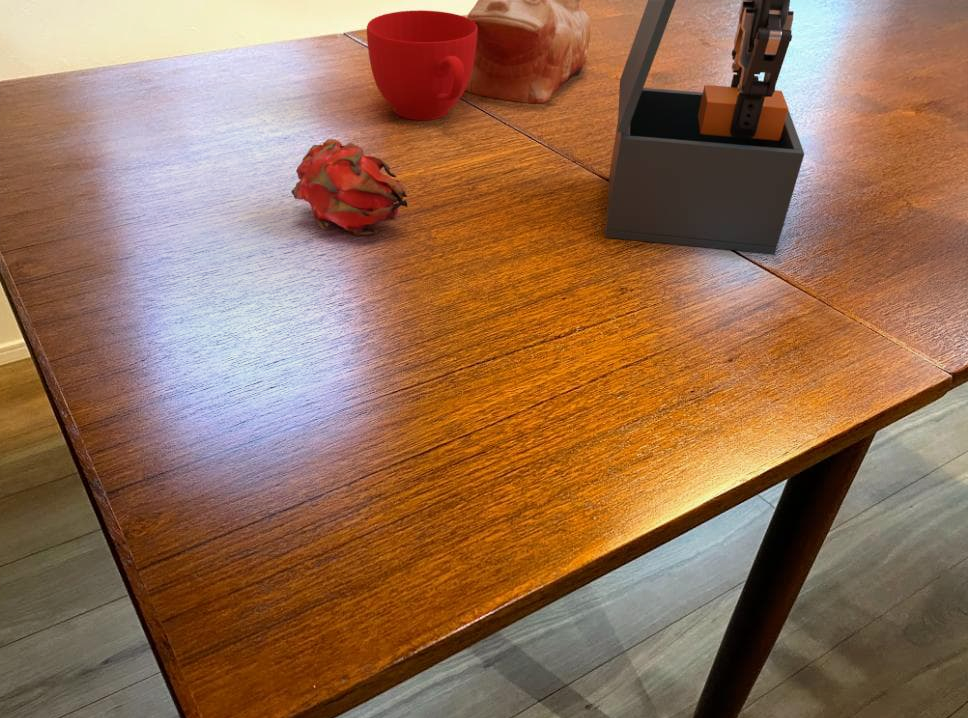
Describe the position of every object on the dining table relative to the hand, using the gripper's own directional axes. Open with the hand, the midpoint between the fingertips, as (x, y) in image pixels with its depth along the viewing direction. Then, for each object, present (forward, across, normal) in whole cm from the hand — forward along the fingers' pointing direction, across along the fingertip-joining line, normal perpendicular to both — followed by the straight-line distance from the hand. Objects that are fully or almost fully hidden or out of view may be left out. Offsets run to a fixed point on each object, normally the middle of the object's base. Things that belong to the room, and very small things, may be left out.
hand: (739, 124), depth 82 cm
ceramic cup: (+10, +20, +33) cm, 40 cm away
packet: (0, 0, 0) cm, 0 cm away
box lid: (-9, 0, +9) cm, 12 cm away
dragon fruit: (+10, -9, +35) cm, 37 cm away
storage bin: (+9, 0, +3) cm, 10 cm away
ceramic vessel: (+10, +36, +23) cm, 44 cm away
